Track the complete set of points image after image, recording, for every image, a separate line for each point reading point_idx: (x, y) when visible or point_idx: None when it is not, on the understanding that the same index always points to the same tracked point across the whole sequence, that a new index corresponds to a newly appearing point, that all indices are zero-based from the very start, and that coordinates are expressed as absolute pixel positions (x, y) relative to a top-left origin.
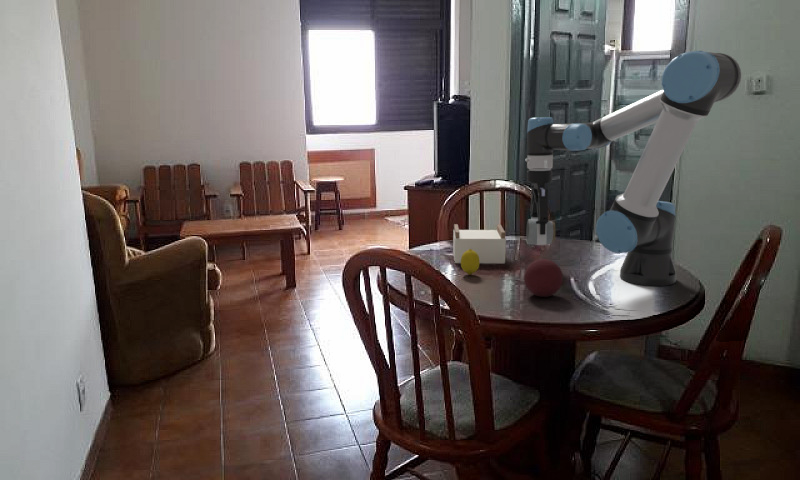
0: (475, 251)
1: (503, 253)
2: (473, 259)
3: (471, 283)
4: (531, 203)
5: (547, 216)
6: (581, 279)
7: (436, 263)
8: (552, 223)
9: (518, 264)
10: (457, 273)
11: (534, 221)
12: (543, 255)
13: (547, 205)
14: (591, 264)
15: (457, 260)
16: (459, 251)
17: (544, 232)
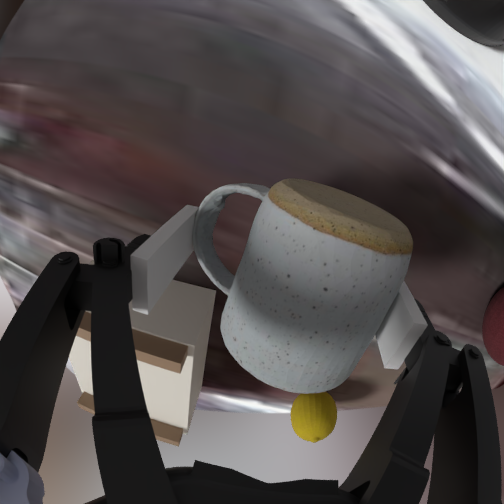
0: (198, 378)
1: (207, 314)
2: (335, 422)
3: (371, 395)
4: (62, 370)
5: (484, 376)
6: (452, 141)
7: (201, 408)
8: (393, 258)
9: (233, 255)
10: (291, 402)
11: (335, 371)
12: (123, 127)
13: (497, 437)
14: (280, 5)
15: (200, 387)
16: (195, 402)
17: (420, 310)
